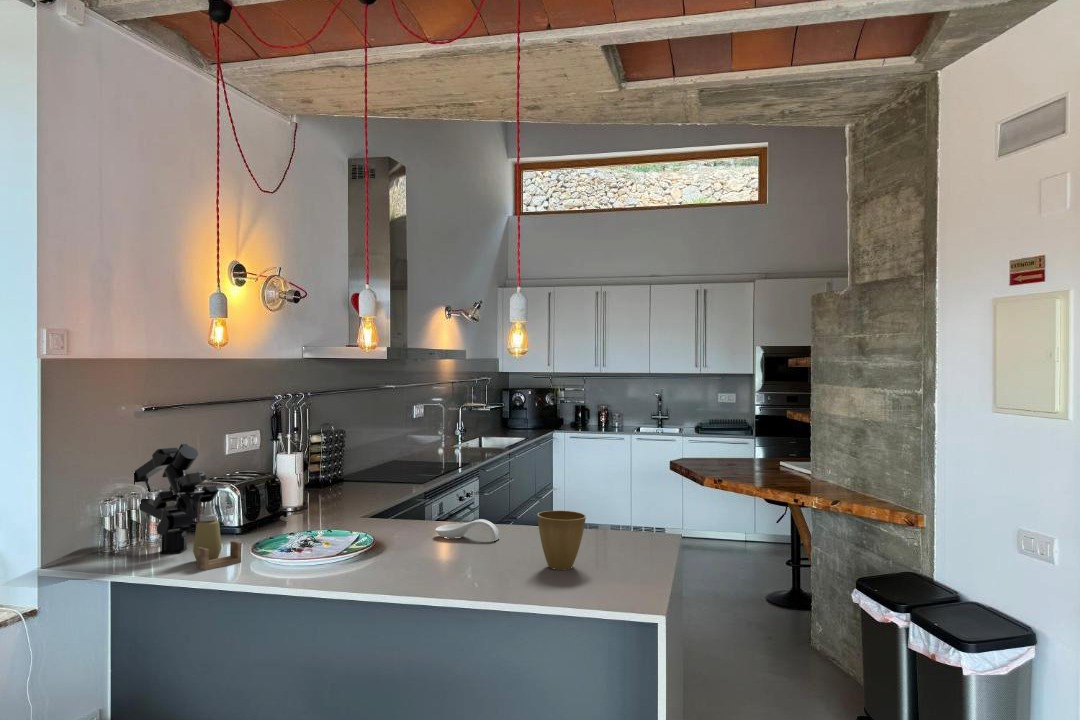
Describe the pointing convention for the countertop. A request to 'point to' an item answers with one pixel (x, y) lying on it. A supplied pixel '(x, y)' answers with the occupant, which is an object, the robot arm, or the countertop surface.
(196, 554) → the squeeze bottle
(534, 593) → the countertop surface
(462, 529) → the spoon rest
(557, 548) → the plant pot
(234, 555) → the u rest
